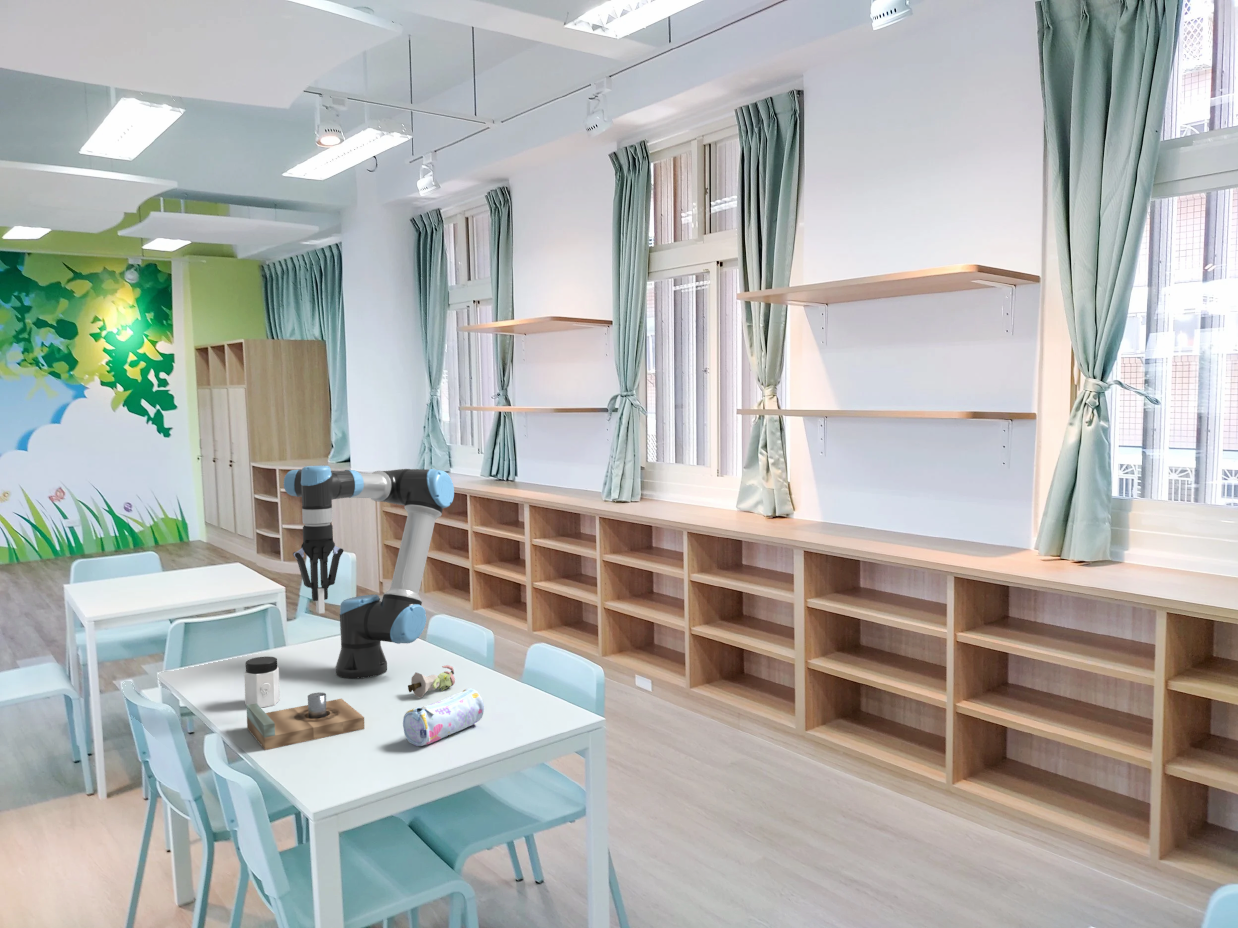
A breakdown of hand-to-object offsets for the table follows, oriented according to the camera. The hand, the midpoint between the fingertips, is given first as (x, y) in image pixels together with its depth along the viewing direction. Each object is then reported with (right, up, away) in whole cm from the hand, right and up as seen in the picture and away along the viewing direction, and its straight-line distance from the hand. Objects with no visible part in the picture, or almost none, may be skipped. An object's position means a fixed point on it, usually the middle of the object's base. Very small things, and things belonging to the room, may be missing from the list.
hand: (320, 612), depth 243 cm
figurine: (+27, -26, +15) cm, 40 cm away
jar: (-18, -26, +7) cm, 33 cm away
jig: (0, -27, -13) cm, 30 cm away
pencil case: (+36, -28, -17) cm, 49 cm away
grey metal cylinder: (+3, -27, -11) cm, 29 cm away
